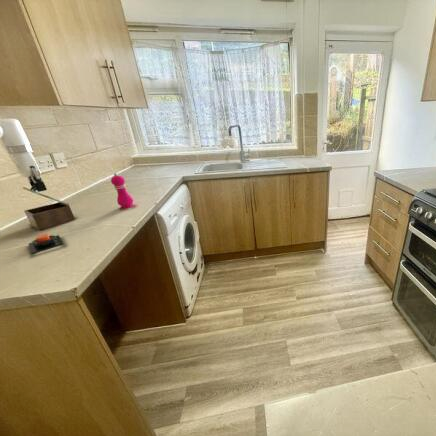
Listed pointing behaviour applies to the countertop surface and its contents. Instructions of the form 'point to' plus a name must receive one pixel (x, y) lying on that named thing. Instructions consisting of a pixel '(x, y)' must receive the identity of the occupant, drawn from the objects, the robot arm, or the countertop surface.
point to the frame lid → (43, 194)
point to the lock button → (43, 238)
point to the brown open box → (49, 215)
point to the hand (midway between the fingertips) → (40, 189)
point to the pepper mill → (122, 192)
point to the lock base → (45, 244)
